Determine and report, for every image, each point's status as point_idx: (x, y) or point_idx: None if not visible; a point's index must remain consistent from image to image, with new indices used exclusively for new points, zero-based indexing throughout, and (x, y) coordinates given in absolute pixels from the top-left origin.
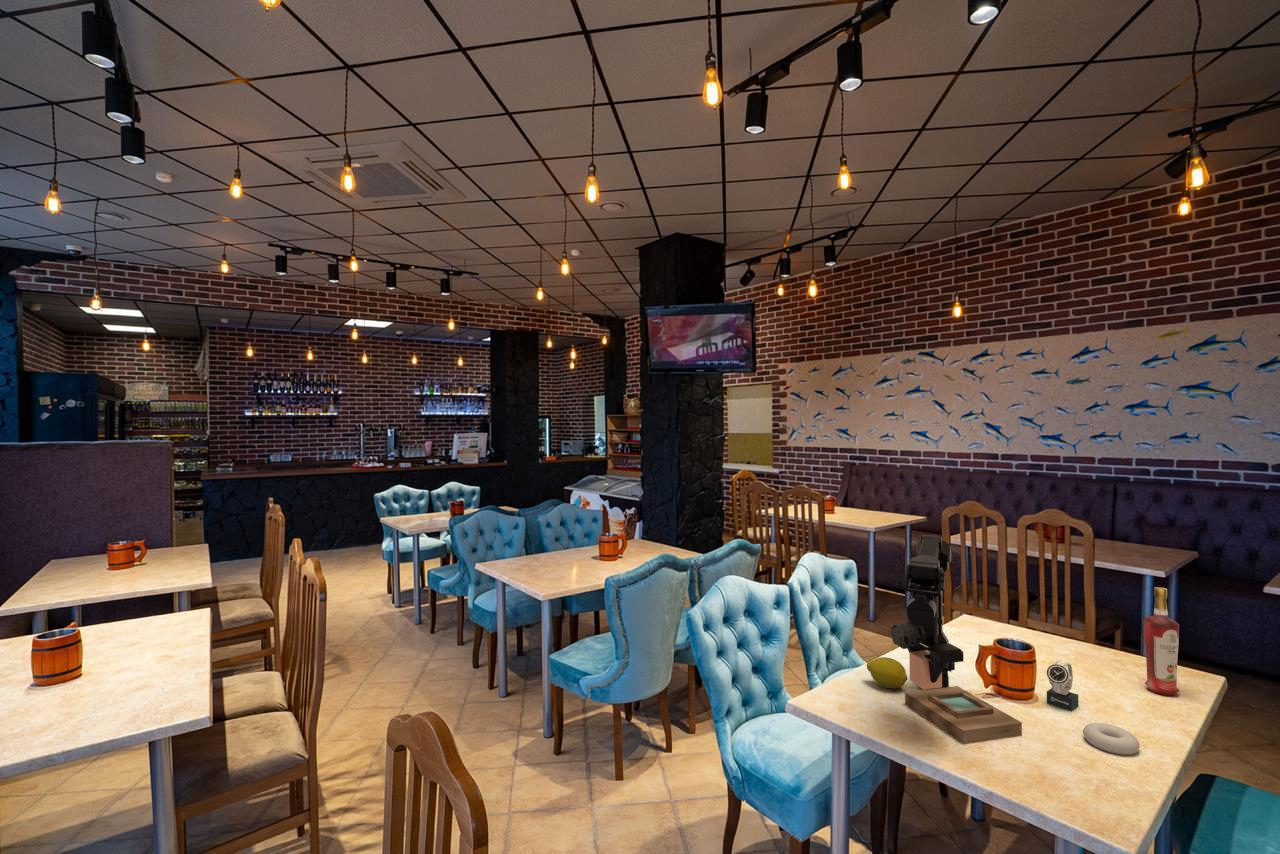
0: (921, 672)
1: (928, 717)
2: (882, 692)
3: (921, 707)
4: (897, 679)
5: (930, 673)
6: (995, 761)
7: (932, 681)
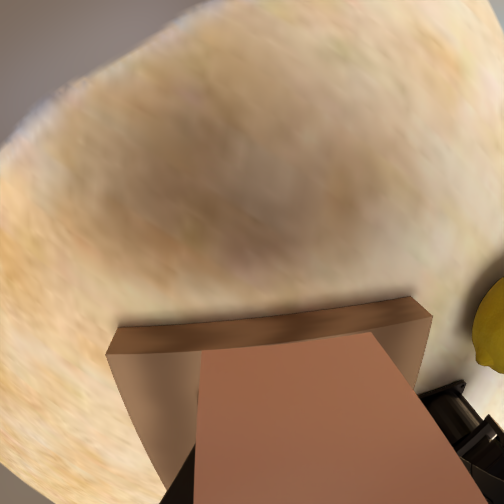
0: (232, 456)
1: (294, 318)
2: (482, 264)
3: (340, 324)
4: (488, 329)
5: (192, 495)
6: (35, 344)
7: (193, 446)
